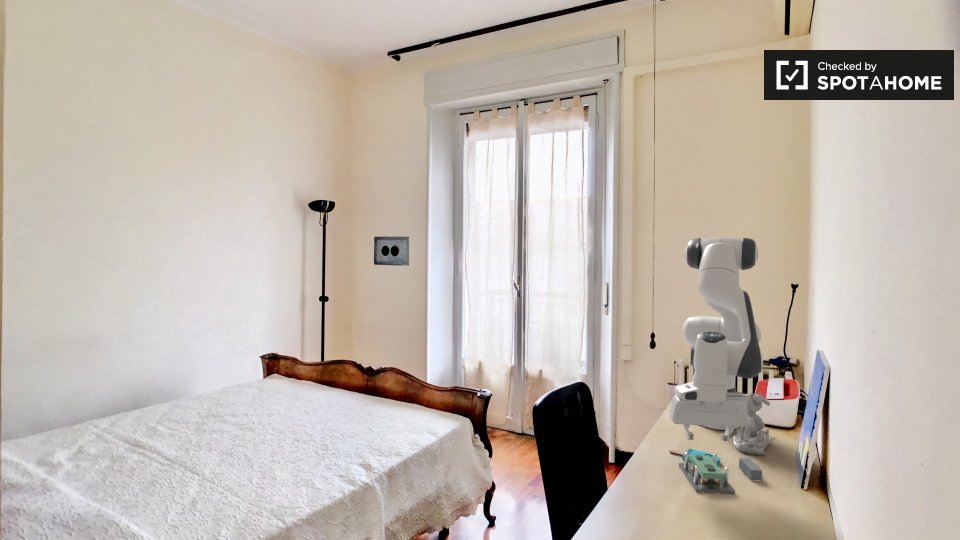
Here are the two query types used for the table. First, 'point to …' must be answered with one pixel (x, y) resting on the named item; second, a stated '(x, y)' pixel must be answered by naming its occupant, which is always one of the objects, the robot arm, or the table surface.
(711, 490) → the chassis
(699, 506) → the table surface
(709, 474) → the board
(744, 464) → the grey rectangular block
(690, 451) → the toy
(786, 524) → the table surface
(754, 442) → the figurine
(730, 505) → the table surface
